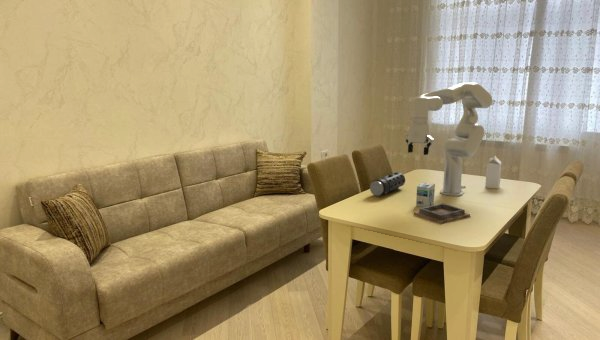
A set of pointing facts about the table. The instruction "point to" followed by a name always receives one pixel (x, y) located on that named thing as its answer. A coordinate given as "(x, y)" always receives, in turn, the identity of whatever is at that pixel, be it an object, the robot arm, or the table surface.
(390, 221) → the table surface
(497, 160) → the milk carton
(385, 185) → the muzzle brake
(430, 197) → the light bulb box
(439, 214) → the tray
